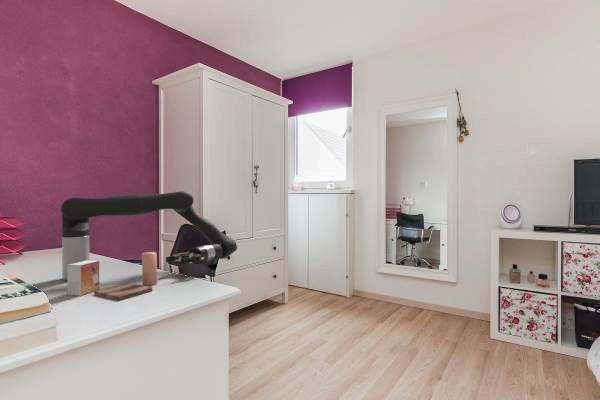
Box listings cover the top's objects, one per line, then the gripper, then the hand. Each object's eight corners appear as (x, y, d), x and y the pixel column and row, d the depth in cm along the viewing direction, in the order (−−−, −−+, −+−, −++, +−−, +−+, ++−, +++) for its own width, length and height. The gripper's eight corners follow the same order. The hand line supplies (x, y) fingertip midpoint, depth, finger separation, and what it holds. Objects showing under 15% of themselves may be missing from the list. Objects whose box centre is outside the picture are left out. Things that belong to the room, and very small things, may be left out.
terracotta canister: (139, 285, 121) (139, 253, 121) (151, 282, 126) (150, 251, 126) (148, 287, 119) (147, 254, 119) (159, 283, 123) (159, 252, 123)
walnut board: (94, 294, 110) (94, 291, 110) (127, 285, 121) (127, 282, 121) (119, 300, 104) (119, 296, 104) (152, 290, 114) (152, 287, 114)
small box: (81, 296, 108) (80, 265, 108) (67, 295, 110) (66, 264, 109) (100, 289, 116) (99, 260, 116) (87, 288, 117) (86, 259, 117)
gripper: (191, 245, 150) (161, 250, 135) (214, 247, 143) (186, 253, 129) (191, 261, 150) (161, 268, 136) (214, 263, 143) (186, 271, 129)
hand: (173, 260), depth 132 cm, fingers open, 8 cm apart
